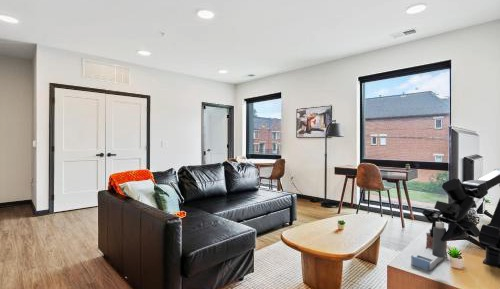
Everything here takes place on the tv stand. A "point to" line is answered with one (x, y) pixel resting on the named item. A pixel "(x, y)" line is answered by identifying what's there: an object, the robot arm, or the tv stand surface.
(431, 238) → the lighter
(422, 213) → the robot arm
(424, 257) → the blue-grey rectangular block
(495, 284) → the tv stand surface
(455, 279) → the tv stand surface
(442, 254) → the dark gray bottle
